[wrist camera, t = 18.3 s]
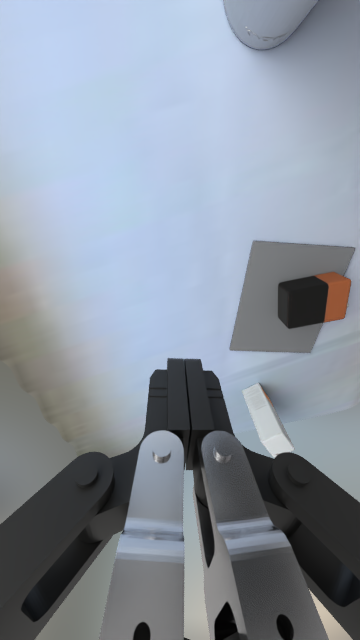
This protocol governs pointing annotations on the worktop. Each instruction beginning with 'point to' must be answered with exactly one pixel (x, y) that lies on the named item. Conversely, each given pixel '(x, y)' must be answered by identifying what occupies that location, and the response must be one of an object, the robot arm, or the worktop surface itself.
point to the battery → (313, 299)
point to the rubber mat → (262, 294)
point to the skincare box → (267, 421)
